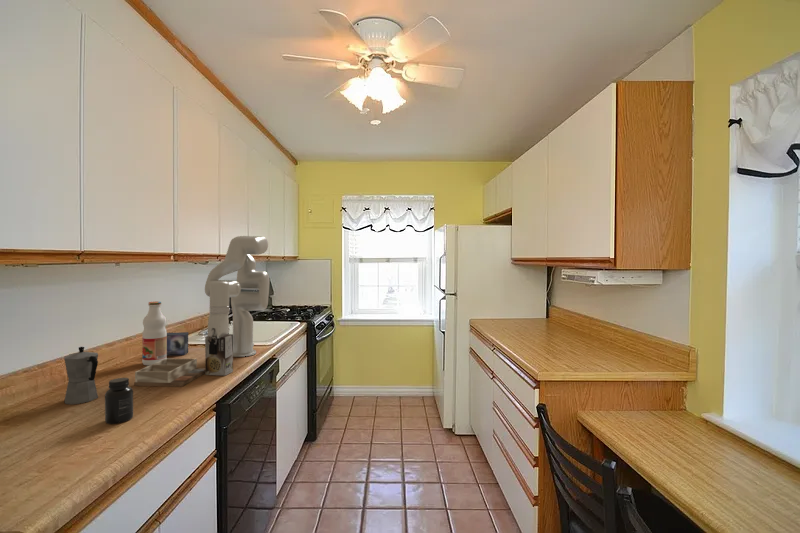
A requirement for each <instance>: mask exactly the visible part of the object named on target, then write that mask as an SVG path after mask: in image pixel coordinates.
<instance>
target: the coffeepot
mask: <svg viewBox="0 0 800 533" xmlns="http://www.w3.org/2000/svg"><path fill="white" fill-rule="evenodd" d="M98 357H99V354H98V352H94V351H93V352H92V351H85V347H84V346H79V347H78V352H76V353H70V354H69V353H68V355H66V356H63V359H64V364H65V368H66V370H65V371H66V374H67V378H68V379H67V380H68V382H67V385H66V391H65V395H64V404H65V405H79V404H80V403H81V404H85V402H86V403H89V401H90V402H92V401H95V400H97V399H98V398H99V395H98V390H97V386H96V381H95V376H96V374H97V368H98V364H99V360H98ZM94 399H95V400H94ZM81 404H80V405H81Z"/></svg>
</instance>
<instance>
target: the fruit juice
mask: <svg viewBox="0 0 800 533" xmlns="http://www.w3.org/2000/svg"><path fill="white" fill-rule="evenodd" d="M161 306H162V301H148V307H149V308H148V312H147V314H146V316H144V318H143V319H142V325H143V330H142V335H141V336H142V341H141V342H142V344H141V345H142V348H141V349H142V350H141V351H142V356H141V358H142V360H141V361H142V364H143V365H144V366H150V365H152V364H154V363H157V362H159V361H161V360H164V359H166V358H167V333H168V332H167V331H168V330H167V327H166V325H167V317H166V316H165V315H164V314H163V312H162V308H161Z"/></svg>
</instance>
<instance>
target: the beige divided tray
mask: <svg viewBox="0 0 800 533" xmlns="http://www.w3.org/2000/svg"><path fill="white" fill-rule="evenodd" d="M197 361H198V360H197V358H171V357H170V358H169V357H168V358H166V359H164V360H161V361H159V362H157V363H154V364H152V365H146V366H145V367H143V368H141V369H139V370H136V371H134V386H135V387H137V386H139V387H183V386H185V385H187V384H189V383H190V382H192V381H194V380H196V379H197V378H199V377H200V376H201V377H202V376H203V375H204V374H205V367H197V365H198V364H197V363H198V362H197Z"/></svg>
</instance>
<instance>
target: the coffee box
mask: <svg viewBox="0 0 800 533" xmlns="http://www.w3.org/2000/svg"><path fill="white" fill-rule="evenodd" d="M204 339H205V340H204V343H205V344H204V345H205V346H204V348H205V349H204V350H205V352H204V355H205V356H204V357H205V358H204V360H205V361H204V362H205V363H204V364H205V366H204V368H205V373H204V374H205V376H228V375H229V374H231V373H233V372H234V357H233V333H229V334H226V335H224V336H223V337H221V338H220V339H218V341H217V344H218V351H217V354H209V342H208V337H207V336H205V337H204ZM214 341H215V339H214Z"/></svg>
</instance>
